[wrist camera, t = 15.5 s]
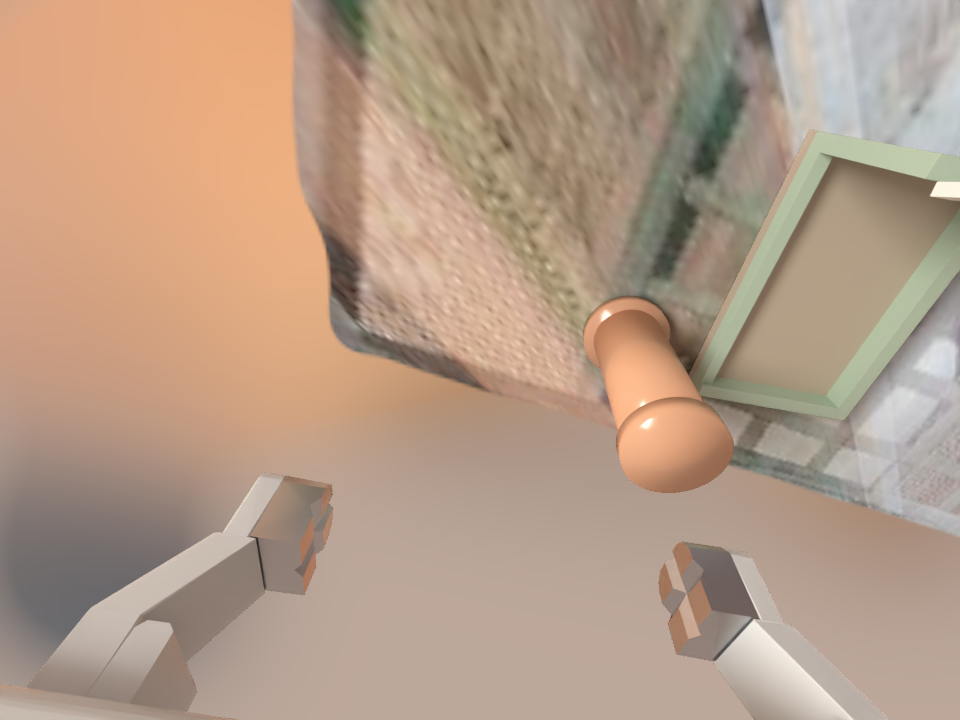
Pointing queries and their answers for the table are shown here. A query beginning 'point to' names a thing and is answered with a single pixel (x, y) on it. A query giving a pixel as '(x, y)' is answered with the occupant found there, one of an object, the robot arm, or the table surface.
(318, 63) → the table surface
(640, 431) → the orange-brown capped cylinder
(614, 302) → the terracotta round disc
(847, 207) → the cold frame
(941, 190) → the lid
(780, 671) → the robot arm
